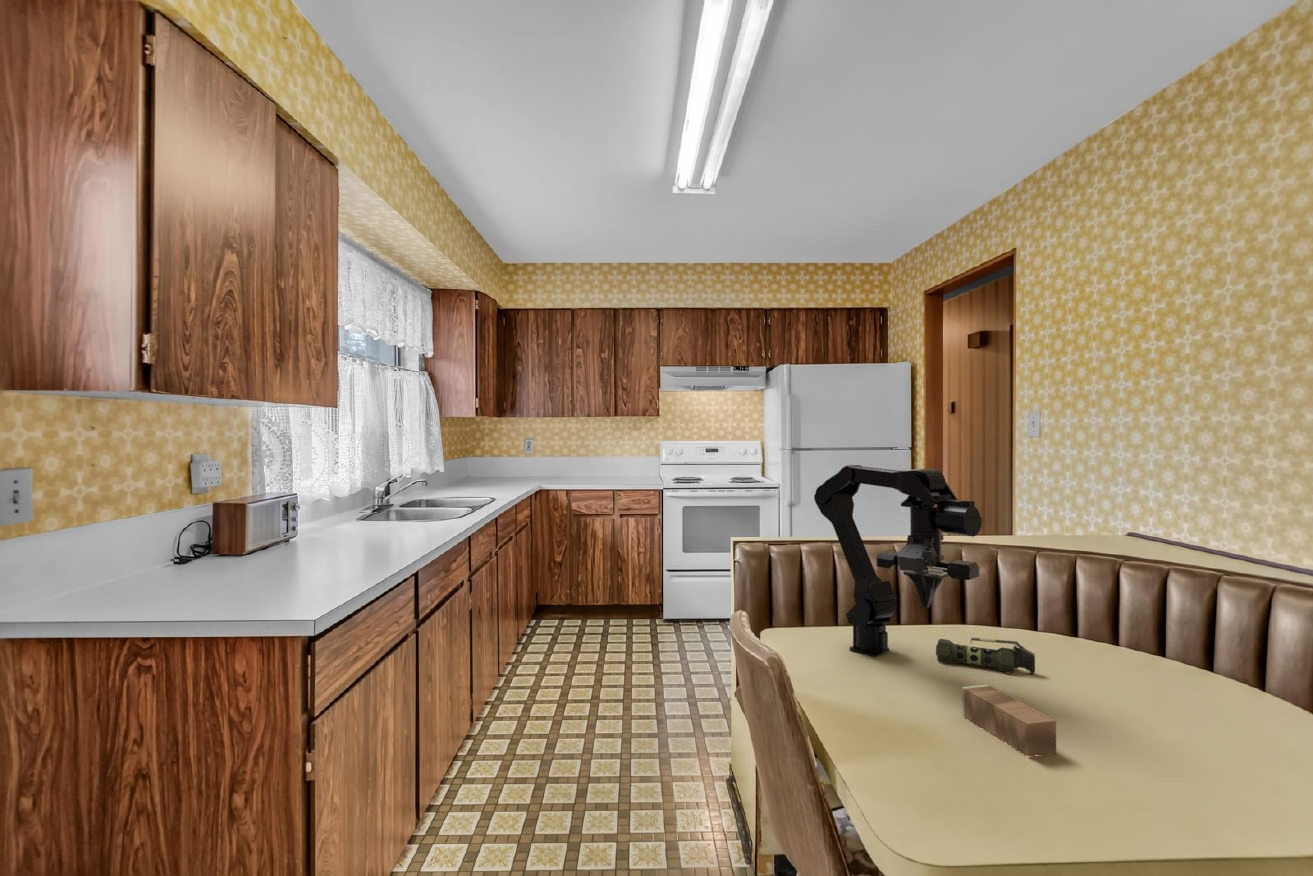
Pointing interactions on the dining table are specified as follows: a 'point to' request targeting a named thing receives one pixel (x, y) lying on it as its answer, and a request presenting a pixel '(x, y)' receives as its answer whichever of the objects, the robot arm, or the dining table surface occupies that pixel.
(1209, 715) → the dining table surface
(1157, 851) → the dining table surface
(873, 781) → the dining table surface
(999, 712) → the walnut block
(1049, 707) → the dining table surface
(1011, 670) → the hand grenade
